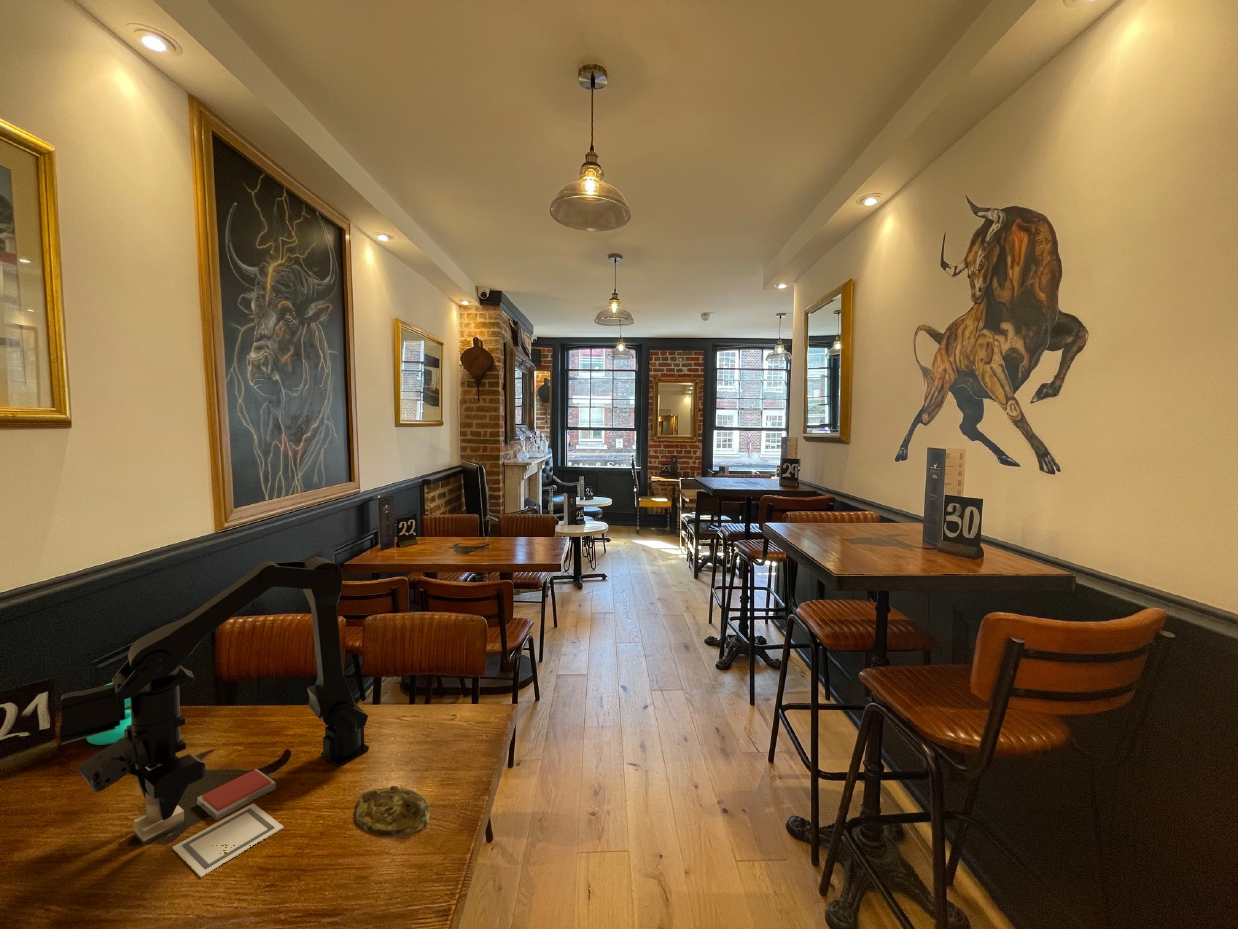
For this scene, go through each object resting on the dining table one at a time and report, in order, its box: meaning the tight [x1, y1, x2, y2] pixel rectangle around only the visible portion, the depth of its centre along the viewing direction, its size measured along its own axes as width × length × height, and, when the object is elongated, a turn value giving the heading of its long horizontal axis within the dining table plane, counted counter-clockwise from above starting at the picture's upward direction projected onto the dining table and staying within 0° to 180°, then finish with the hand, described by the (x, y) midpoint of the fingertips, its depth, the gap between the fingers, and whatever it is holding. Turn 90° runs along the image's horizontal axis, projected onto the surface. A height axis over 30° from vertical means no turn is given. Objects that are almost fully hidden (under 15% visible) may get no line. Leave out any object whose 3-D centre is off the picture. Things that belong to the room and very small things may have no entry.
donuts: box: [86, 682, 131, 746], centre depth 107 cm, size 10×10×10 cm
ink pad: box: [196, 768, 277, 821], centre depth 89 cm, size 9×7×2 cm
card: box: [171, 803, 285, 879], centre depth 80 cm, size 11×10×1 cm
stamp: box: [133, 792, 185, 846], centre depth 81 cm, size 5×4×8 cm
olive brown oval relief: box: [354, 785, 430, 837], centre depth 86 cm, size 9×5×15 cm
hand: (159, 810), depth 81 cm, fingers open, 6 cm apart
